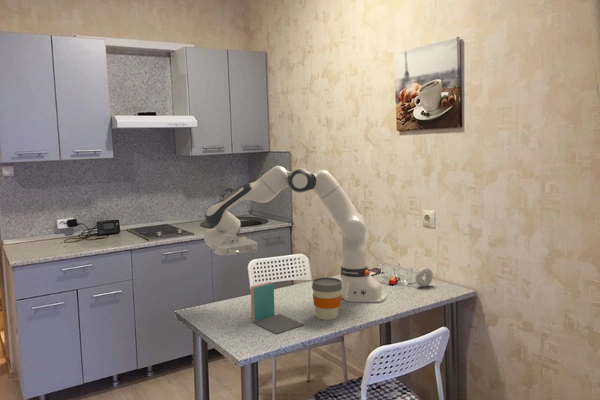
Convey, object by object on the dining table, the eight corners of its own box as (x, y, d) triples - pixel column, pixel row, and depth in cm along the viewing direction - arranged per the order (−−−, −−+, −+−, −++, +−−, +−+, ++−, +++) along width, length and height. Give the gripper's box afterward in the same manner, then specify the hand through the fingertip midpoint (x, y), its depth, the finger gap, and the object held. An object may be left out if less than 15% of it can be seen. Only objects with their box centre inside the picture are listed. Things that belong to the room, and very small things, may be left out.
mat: (252, 322, 204) (252, 321, 204) (279, 314, 213) (279, 313, 213) (276, 334, 192) (276, 333, 192) (304, 325, 201) (304, 324, 201)
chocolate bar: (388, 270, 279) (367, 276, 267) (388, 272, 280) (367, 278, 267) (375, 267, 286) (354, 273, 274) (375, 269, 286) (354, 275, 274)
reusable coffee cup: (318, 309, 219) (318, 276, 217) (345, 312, 214) (345, 278, 212) (307, 319, 207) (307, 283, 206) (336, 323, 203) (336, 287, 201)
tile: (251, 319, 208) (250, 286, 206) (270, 313, 214) (270, 281, 212) (254, 321, 206) (254, 288, 204) (274, 315, 212) (273, 283, 210)
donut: (418, 288, 247) (418, 269, 246) (413, 287, 250) (414, 267, 249) (434, 286, 251) (434, 266, 250) (429, 284, 254) (429, 265, 253)
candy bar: (395, 286, 253) (395, 280, 252) (387, 285, 254) (387, 279, 254) (400, 277, 267) (400, 272, 267) (393, 277, 269) (393, 271, 268)
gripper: (208, 240, 218) (226, 247, 208) (246, 235, 232) (265, 242, 222) (207, 254, 219) (225, 262, 209) (246, 248, 233) (264, 256, 223)
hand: (246, 252), depth 215 cm, fingers open, 8 cm apart
